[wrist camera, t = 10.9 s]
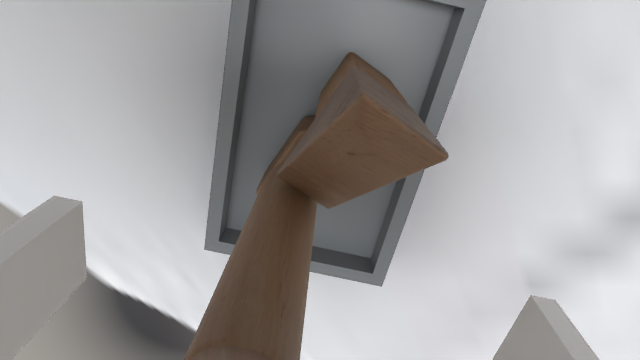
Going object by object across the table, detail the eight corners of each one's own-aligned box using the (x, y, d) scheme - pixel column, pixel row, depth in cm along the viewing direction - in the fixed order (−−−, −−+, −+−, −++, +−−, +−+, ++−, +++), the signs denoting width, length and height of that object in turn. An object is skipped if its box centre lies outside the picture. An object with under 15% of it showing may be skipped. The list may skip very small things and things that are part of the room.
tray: (251, -60, 23) (239, -69, 20) (471, -5, 23) (488, -7, 21) (216, 228, 31) (204, 249, 29) (378, 263, 32) (381, 286, 29)
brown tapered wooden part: (393, 82, 25) (501, 215, 8) (303, 198, 29) (256, 447, 12) (349, 48, 24) (371, 122, 8) (262, 172, 28) (154, 399, 12)
